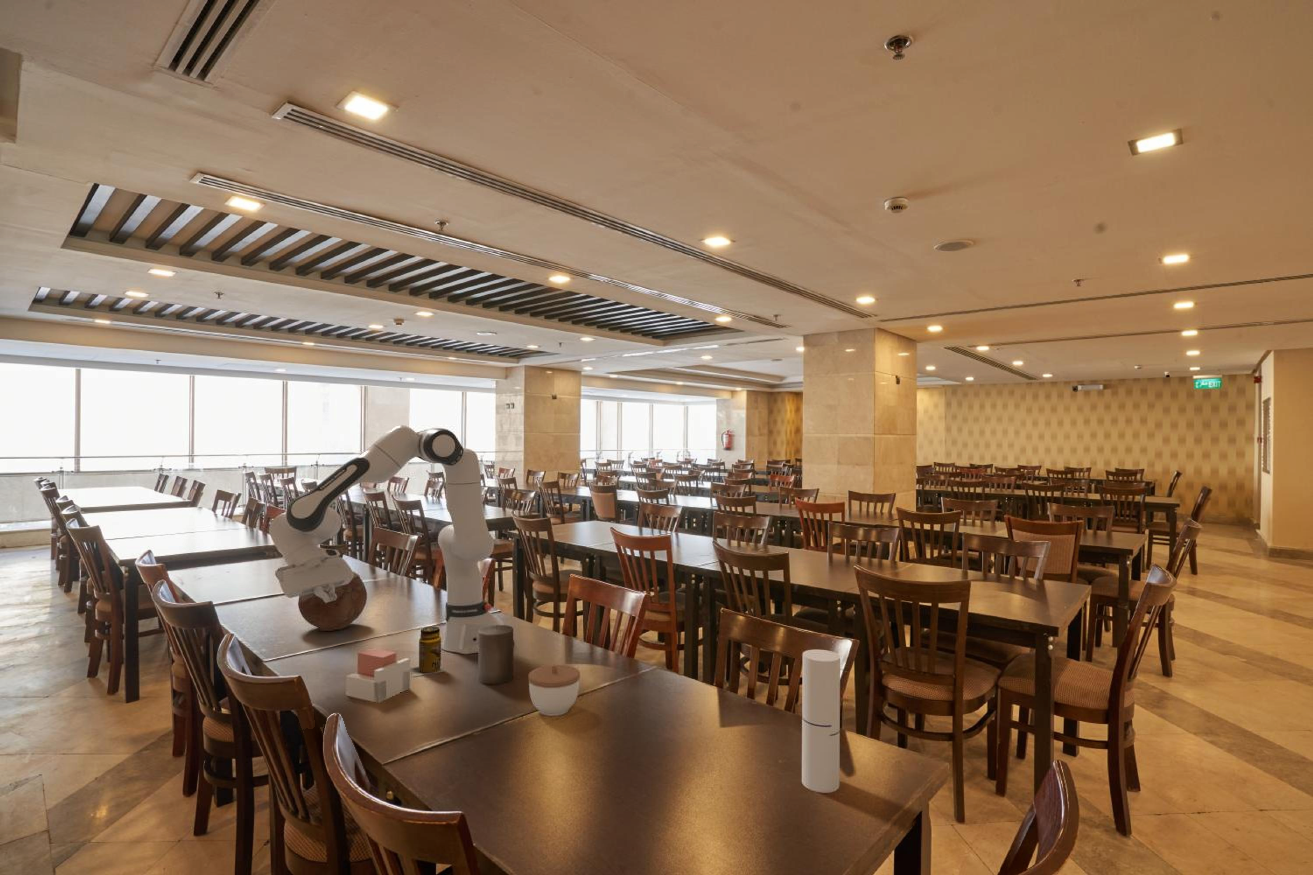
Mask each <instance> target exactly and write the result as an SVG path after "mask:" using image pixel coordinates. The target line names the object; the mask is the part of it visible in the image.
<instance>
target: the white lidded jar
mask: <svg viewBox="0 0 1313 875" xmlns="http://www.w3.org/2000/svg"><path fill="white" fill-rule="evenodd" d="M580 678H581V672H580V670H579V669H578V668H576V667H574V666H570V665H566V664H565V665H564V664H552V665H551V664H550V665H544V666H540V667H537V668H534V669H533V670H531V671H530V672H529V673H528V678H527V679H528V690H529V691H528V692H529V696H530V699H531V702H532V704H533V706H534V707H535V708H536V709H537V710H538V712H539V713H540V714H541V715H543V716H548V717H557V716H558V717H559V716H561V715H564V714H566V713H568V711H569V710H570V709H571V707H572V706H573V705H574V704H575V702H576V701H577V698H578V695H579V689H580Z"/></svg>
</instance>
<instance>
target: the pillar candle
mask: <svg viewBox="0 0 1313 875" xmlns="http://www.w3.org/2000/svg"><path fill="white" fill-rule="evenodd" d="M478 632H479V633H478V640H479V641H478V642H479V643H478V646H479V647H478V652H477V653H478V654H477V655H478V656H477V657H478V666H477V667H478V668H477V670H478V682H479V683H481V684H484V685H485V684H487V685H498V684H504V683H508V682H510V681H512V680H513V679H514V627H512V626H510V625H506V624H504V625H494V626H487V627H484V628H481V629H480V630H479V631H478Z"/></svg>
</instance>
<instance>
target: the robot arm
mask: <svg viewBox="0 0 1313 875" xmlns="http://www.w3.org/2000/svg"><path fill="white" fill-rule="evenodd" d="M415 458H418V459H420V460H422V461H424V462H428V463H430V464H440V465H441V466H442V467H443V468H444V473H445V501H446V502H445V503H446V505H445V506H446V510H447V512H448V513H449V516H450V519H451V522H452V524H448V525H446V526H444V527H443V528H441V530H440V531H439V532H438V536H437V543H438V545H439V548H440V550H441V554H442V558H443V564H444V570H445V574H446V602H445V608H444V619H445V628H444V634H443V639H442V642H441V650H443V651H446V652H451V653H458V654H459V653H460V654H463V655H469V654H476V653H478V647H479V646H478V643H479V642H478V641H479V640H478V633H479V632H478V631H479V630H480V629H481V628H484V627H487V626H494V625H505V623H504V622H503V621H502V620H501V619H500V618H498V617H497V616H495V615H494V614H493V613H492V612H490V611H491V610H492V605H491V604H490V603H489V602H488V601H487V600H485V599H483V574H482V572H481V570H480V567H479V565H478V562H481V561H485V560H486V559H489V557H490V556H491V555H492V553H493V551H494V548H495V541H494V538H493V536H492V534H491V533H490V531H489V528H488V524H487V521H486V517H485V514H484V513H485V512H484V508H483V500H482V499H483V498H482V497H483V496H482V475H481V467H480V462H479V457H478V455H477V453H476V452H475V451H474V450H472V449H470V448H467V447H466V448H465V447H463V446H462V444H461V442H460V440H459V439H458V437H457V436H456V434H455V433H454V432H452V431H451V430H449V429H448V428H447V429H446V428H441V427H440V428H439V427H432V428H429V429H423V430H421V431H417V432H416V431H415V430H414V429H412V428H411V427H409V426H407V425H397V426H394V427H392V428H391V429H390V430H389V431H387V432H386V433H384V434H383V435H382V436H380V437H379V438H378V439H377V440H376V441H374V443H373V444H372V445H371V446H370V447H368V448H367V449H365V451H364V452H363V453H361V454H360V455H358V456H356V457H354V458H351V459H350V460H349V461H347V462H345V463H344V464H342V465H341V466H340V467H339V468H338V469H336V470H335V471H334V472H332V473H331V474H330V475H329V476H328V477H326V478H325V479H324V480H323V481H321V482H320V483H319V484H318V485H316V486H315V487H314V488H312V489H310V490H308V491H306V492H304V493H302V494H300V495H299V496H296V498H294V499H292V501H291V502H290V503H289V505H288V507H287V509H286V511H285V512H283V513H281V514H279V515H277V516H276V517H275V518H274V519H273V520H272V521H271V522H270V525H269V528H268V532H269V534H270V535H269V536H270V537H271V540H272V542H273V545H274V546H275V547H276V550H278V552H279V553H280V554H281V555H282V556H283V557H284V558H283V559H284V562H285V563H286V566H281V567H278V568H277V569H276V570H275V572H274V576H275V577H276V578H277V580H278V583H279V586H280V588H281V590H282V593H283V594H284V596H286V597H287V598H289V599H293V598H297V597H299V596H301V595H305V594H309V593H313V592H314V593H315V595H316V596H318V597H320V598H322V599H323V600H324V602H325V603H327V602H330V601H334V600H336V598H337V595H336V594H335V587H337V586H341V585H345V584H348V583H349V582H350V581H351V580H352V579H353V577H354V573H353V572H354V571H353V570H352V568H351V566H350V564H348V562H347V561H346V560H345V559H344V558H343V559H342V558H340V557H339V555H340V553H339V552H338V551H337V550H332V549H324V548H320V547H319V546H320V544H323V543H325V542H327V541H329V540H331V539H332V538H334V537H335V536H336V535H337V534H339V532H340V530H341V529H342V525H343V521H342V516H341V515H340V513H339V512H337V511H336V510H335V509H334V508H332V507H331V505H332V504H333V503H334V502H336V500H338V499H339V498H340V497H342V496H343V494H345V493H346V492H347V491H348V490H350V489H351V488H352V487H354V486H355V485H358V484H361V483H363V484H366V483H369V484H382V483H383V484H385V483H386V482H388V481H389V480H390V479H392V478H393V477H395V476H396V475H397V474H398V473H399V472H400V471H401V469H403V467H405V466H406V465H407V463H408V462H409V461H411V460H413V459H415ZM318 545H319V546H318ZM323 590H326V591H327V592H328V591H329V594H327V593H326V592H324V591H323Z"/></svg>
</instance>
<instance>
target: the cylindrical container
mask: <svg viewBox="0 0 1313 875" xmlns="http://www.w3.org/2000/svg"><path fill="white" fill-rule="evenodd" d="M801 674H802V675H801V677H802V684H801V686H802V688H801V690H802V691H801V692H802V694H801V696H802V697H801V700H802V702H801V707H802V708H801V712H802V713H801V722H802V723H801V783H802V785H803V786H804V787H805V788H807V789H808V790H810V791H813V792H816V793H823V794H824V793H825V794H827V793H828V794H829V793H833V792H836V791H837V790H839V788H840V758H841V757H840V755H841V754H840V749H841V747H840V744H841V743H840V738H841V736H840V732H841V730H840V729H841V728H840V727H841V726H840V724H841V723H840V722H841V720H840V717H841V714H840V713H841V699H840V698H841V656H840V654H838V653H836V652H834V651H831V650H826V649H808V650H805V651H803V652H802V672H801Z"/></svg>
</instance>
